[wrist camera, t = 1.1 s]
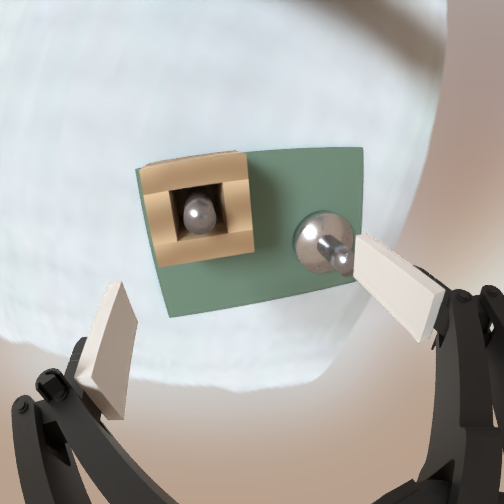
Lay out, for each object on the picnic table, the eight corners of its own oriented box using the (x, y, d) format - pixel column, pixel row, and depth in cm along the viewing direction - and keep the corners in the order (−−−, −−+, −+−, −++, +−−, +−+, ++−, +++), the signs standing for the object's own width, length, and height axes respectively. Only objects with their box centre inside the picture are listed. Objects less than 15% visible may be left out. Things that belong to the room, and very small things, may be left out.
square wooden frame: (149, 163, 26) (139, 169, 21) (235, 150, 27) (246, 153, 22) (163, 243, 30) (158, 267, 24) (242, 230, 31) (254, 252, 26)
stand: (161, 168, 28) (148, 183, 19) (224, 159, 30) (239, 169, 21) (171, 227, 31) (165, 265, 22) (230, 218, 32) (247, 252, 24)
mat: (136, 168, 28) (135, 169, 28) (361, 147, 33) (362, 147, 32) (169, 315, 36) (169, 317, 36) (354, 279, 41) (355, 281, 41)
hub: (291, 214, 34) (318, 236, 27) (346, 207, 35) (382, 226, 28) (292, 271, 37) (316, 303, 30) (344, 260, 39) (374, 288, 31)
